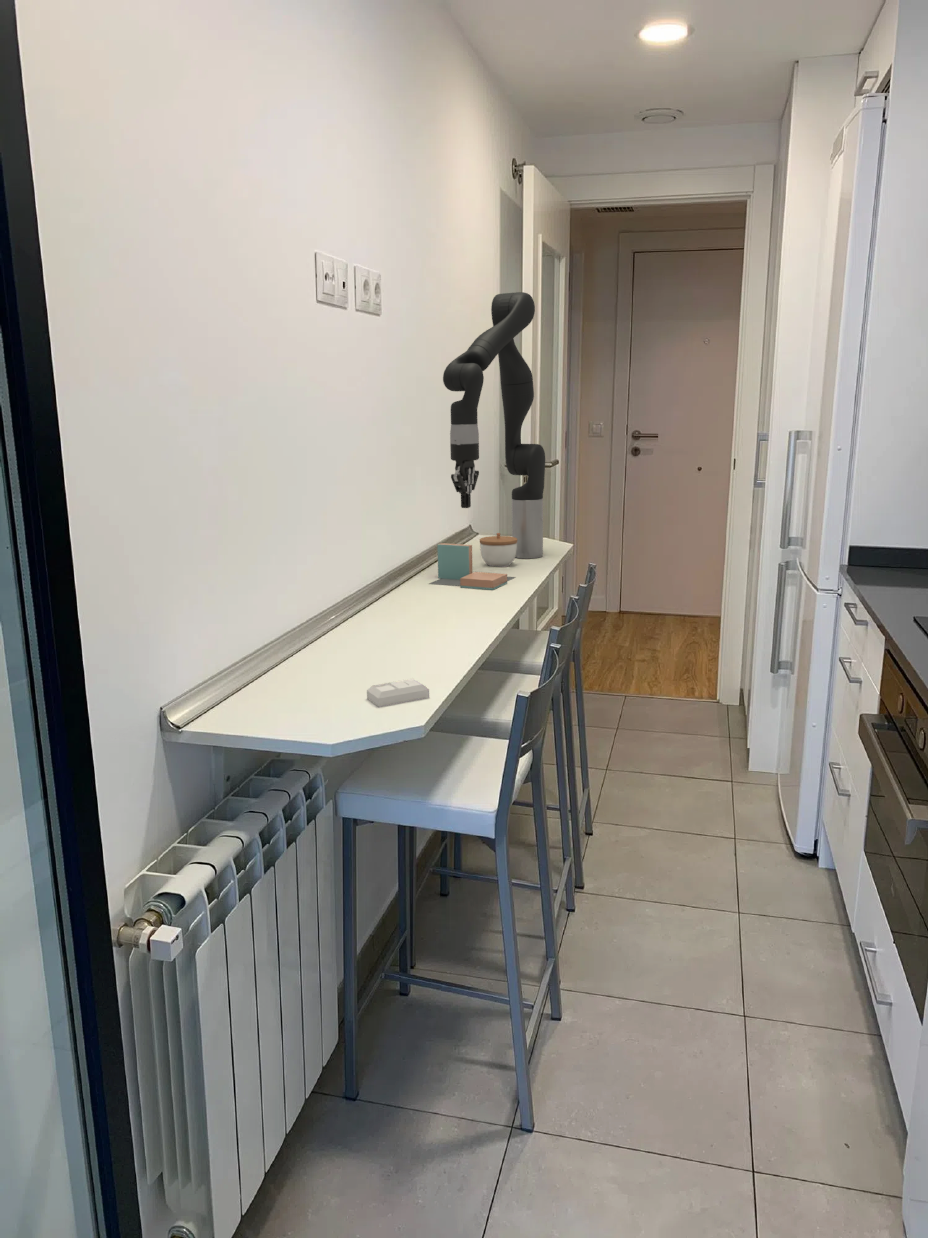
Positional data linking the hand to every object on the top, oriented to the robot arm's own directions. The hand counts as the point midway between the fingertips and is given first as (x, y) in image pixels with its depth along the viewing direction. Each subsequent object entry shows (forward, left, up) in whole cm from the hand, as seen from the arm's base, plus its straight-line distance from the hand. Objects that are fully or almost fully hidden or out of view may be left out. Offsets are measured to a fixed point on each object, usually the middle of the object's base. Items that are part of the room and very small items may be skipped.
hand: (465, 507), depth 252 cm
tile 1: (+7, 0, -18) cm, 19 cm away
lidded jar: (-16, +2, -19) cm, 25 cm away
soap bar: (+99, +35, -19) cm, 107 cm away
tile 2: (+8, +11, -17) cm, 22 cm away
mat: (+8, +5, -18) cm, 21 cm away
